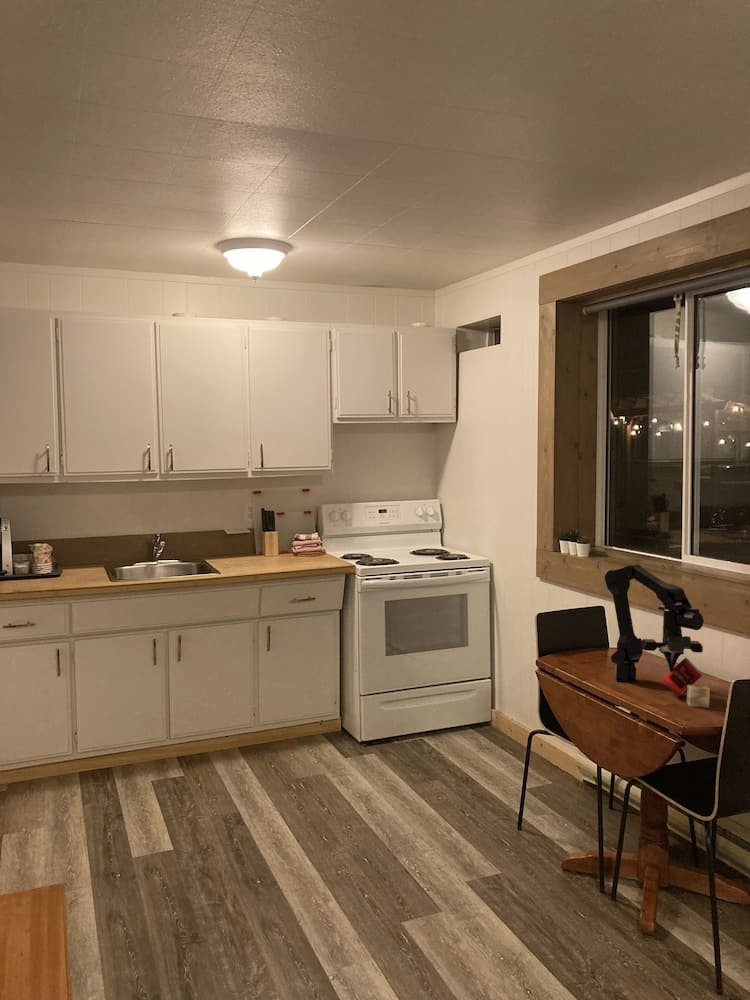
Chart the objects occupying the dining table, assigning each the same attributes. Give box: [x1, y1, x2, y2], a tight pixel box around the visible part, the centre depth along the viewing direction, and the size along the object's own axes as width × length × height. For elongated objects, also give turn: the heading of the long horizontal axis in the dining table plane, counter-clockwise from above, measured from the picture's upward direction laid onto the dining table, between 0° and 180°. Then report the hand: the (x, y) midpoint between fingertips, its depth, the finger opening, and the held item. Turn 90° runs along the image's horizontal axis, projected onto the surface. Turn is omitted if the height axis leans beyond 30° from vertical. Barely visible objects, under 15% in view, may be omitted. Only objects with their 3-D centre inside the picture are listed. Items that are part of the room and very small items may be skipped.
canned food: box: [662, 657, 704, 697], centre depth 280 cm, size 8×8×11 cm
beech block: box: [686, 684, 711, 708], centre depth 272 cm, size 6×4×6 cm, turn 83°
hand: (670, 671), depth 281 cm, fingers closed
